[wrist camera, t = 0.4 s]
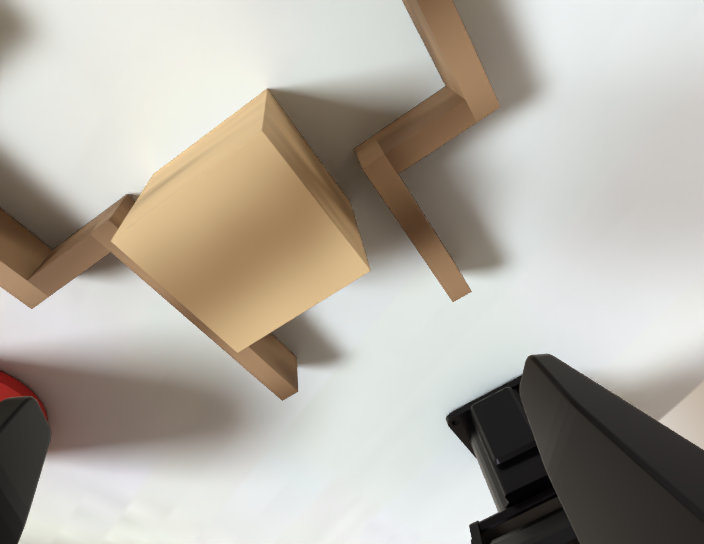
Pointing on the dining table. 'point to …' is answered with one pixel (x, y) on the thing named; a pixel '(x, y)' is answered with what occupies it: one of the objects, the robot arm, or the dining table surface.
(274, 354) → the channel
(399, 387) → the dining table surface
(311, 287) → the block
